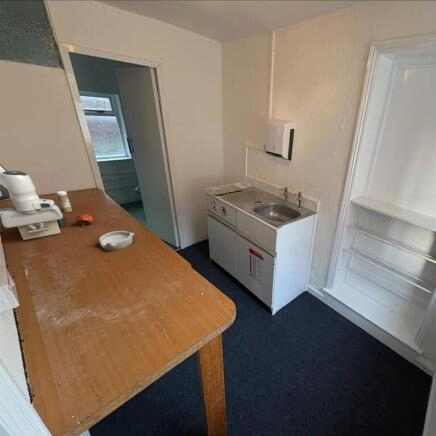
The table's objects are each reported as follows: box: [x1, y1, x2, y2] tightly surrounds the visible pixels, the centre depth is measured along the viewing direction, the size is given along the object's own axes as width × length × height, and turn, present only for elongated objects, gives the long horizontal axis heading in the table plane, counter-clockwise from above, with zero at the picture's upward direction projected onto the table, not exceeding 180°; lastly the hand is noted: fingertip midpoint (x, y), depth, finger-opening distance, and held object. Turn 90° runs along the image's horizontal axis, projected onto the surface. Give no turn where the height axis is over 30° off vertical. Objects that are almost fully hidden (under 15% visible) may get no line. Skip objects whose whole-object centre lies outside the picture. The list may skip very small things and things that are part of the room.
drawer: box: [16, 220, 61, 241], centre depth 122 cm, size 19×14×8 cm
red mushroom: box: [75, 212, 94, 228], centre depth 134 cm, size 7×7×10 cm
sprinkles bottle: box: [56, 190, 73, 213], centre depth 150 cm, size 5×5×14 cm
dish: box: [98, 230, 135, 252], centre depth 117 cm, size 14×14×5 cm
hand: (39, 230), depth 117 cm, fingers closed, pressing on drawer
